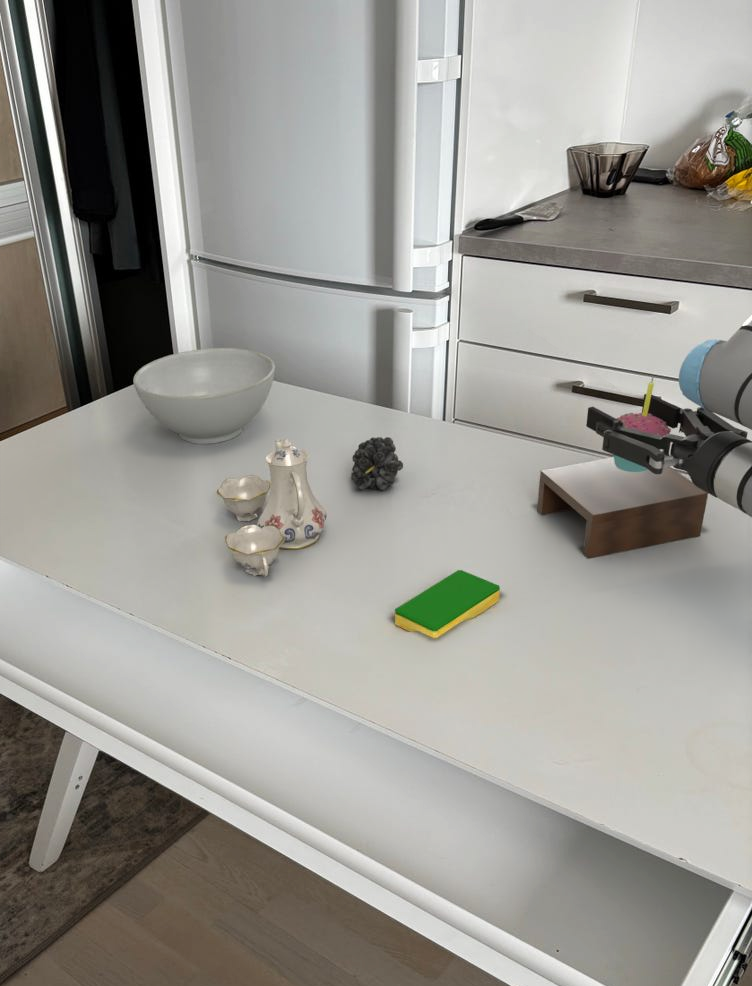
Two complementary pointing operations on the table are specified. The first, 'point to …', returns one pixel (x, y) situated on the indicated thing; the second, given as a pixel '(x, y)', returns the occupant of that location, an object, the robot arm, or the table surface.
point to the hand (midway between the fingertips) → (617, 409)
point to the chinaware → (273, 510)
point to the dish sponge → (447, 604)
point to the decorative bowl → (206, 391)
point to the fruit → (375, 464)
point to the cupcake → (641, 429)
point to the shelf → (624, 504)
